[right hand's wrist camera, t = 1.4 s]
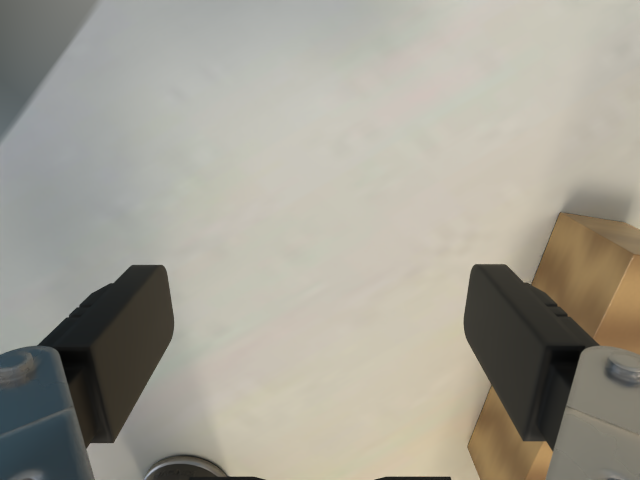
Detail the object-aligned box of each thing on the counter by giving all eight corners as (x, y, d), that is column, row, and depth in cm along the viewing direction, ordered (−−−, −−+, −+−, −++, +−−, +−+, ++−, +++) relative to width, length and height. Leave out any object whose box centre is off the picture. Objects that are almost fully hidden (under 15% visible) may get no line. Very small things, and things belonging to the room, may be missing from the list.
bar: (559, 211, 34) (634, 254, 26) (625, 222, 34) (718, 267, 26) (467, 446, 44) (500, 530, 36) (518, 453, 44) (563, 537, 36)
